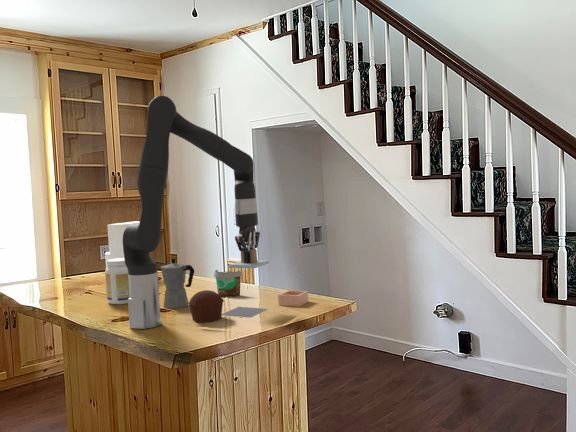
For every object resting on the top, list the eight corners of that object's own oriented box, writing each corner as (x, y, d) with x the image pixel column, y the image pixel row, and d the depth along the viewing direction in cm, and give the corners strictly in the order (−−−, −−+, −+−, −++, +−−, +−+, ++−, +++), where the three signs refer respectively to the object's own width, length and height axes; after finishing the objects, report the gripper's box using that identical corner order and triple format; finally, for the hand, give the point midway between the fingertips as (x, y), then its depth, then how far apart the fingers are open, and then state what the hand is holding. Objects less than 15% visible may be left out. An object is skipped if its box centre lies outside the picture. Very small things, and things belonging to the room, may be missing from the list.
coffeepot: (154, 308, 205) (150, 260, 204) (169, 302, 213) (166, 256, 212) (188, 310, 198) (185, 260, 197) (203, 304, 207) (200, 256, 206)
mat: (250, 319, 180) (250, 317, 180) (220, 317, 186) (219, 314, 186) (268, 311, 191) (268, 308, 191) (238, 309, 196) (238, 306, 196)
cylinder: (151, 277, 274) (147, 221, 272) (123, 284, 259) (119, 224, 257) (126, 275, 283) (123, 221, 281) (99, 281, 268) (95, 224, 266)
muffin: (182, 322, 181) (181, 292, 181) (210, 315, 189) (208, 286, 188) (204, 328, 173) (202, 296, 172) (232, 320, 180) (230, 290, 180)
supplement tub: (145, 298, 223) (142, 256, 222) (128, 305, 212) (125, 261, 211) (118, 298, 227) (115, 257, 226) (101, 304, 215) (97, 261, 214)
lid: (255, 268, 182) (254, 252, 182) (229, 267, 187) (228, 251, 186) (269, 263, 191) (268, 247, 191) (244, 262, 196) (243, 247, 195)
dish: (299, 308, 192) (298, 296, 192) (278, 307, 196) (278, 294, 196) (308, 303, 200) (307, 291, 199) (288, 302, 203) (288, 290, 203)
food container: (208, 296, 220) (207, 272, 220) (217, 293, 226) (216, 269, 225) (234, 298, 215) (233, 273, 214) (243, 295, 220) (241, 270, 219)
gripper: (246, 210, 195) (250, 259, 197) (225, 214, 183) (229, 265, 184) (265, 210, 192) (268, 259, 193) (245, 213, 180) (248, 266, 181)
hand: (249, 262), depth 189 cm, fingers closed on lid
